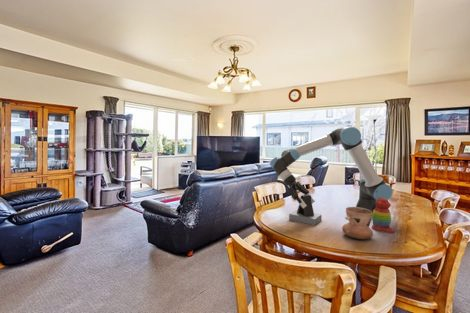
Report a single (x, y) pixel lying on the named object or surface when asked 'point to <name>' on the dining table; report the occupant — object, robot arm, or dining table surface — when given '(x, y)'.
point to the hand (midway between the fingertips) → (309, 204)
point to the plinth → (305, 218)
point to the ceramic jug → (358, 223)
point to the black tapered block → (308, 209)
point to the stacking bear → (382, 216)
